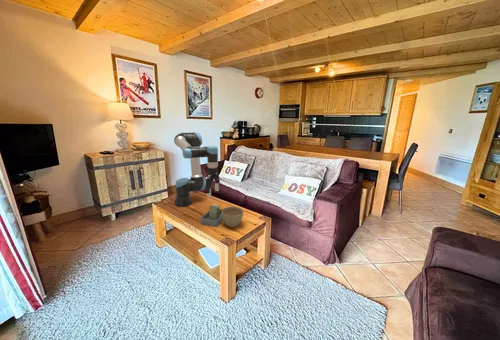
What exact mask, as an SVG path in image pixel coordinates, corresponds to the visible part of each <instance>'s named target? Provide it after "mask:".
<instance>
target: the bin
mask: <svg viewBox="0 0 500 340" xmlns="http://www.w3.org/2000/svg"><path fill="white" fill-rule="evenodd" d="M223 209H224V208H223ZM223 209H222V208H220V217H219V218H218V220H217V221H216V220H210V219H209V210H208V211H207V212H206V213H204V214H203V215H202V216H201V218H200V225H205V226H211V227H217V228H218V226H219V225H221V223H222V222H224V220H223V217H222V210H223Z"/></svg>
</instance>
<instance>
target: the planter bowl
mask: <svg viewBox="0 0 500 340" xmlns="http://www.w3.org/2000/svg"><path fill="white" fill-rule="evenodd" d="M222 217H223V222H224V223H225V225H226V226H227V227H229V228H234V227H235V228H236V227H238V226H239V224H240V223H241V221H242V219H243V217H244V210H243V209H242V208H241V207H238V206H227V207H224V208H223V210H222Z"/></svg>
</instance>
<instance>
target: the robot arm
mask: <svg viewBox="0 0 500 340" xmlns="http://www.w3.org/2000/svg"><path fill="white" fill-rule="evenodd" d="M173 141H174V144H175V146H177V147H179V148H180V150H182V156H183V158H184V159H189V160H190V169H191V175H190V178H188V177H181V178H179V179H176V181H175V186H174V187H175V199H174V206H175V207H177V208H178V207H180V208H183V207H189V206H191V205H192V204H193V200H192V197H191V195H190V193H193V192H199V191H204V190H206V197H207V198H212V189H211V187H212V183H213V181H214V191H215V192H219V190H220V189H219V187H220V185H219V184H220V182H221V180H220V175H219V168H218V166H219V162H218V160H219V151H218V150H219V149H218V146H216V145H210V146H203V147H201V146H202V145H203V138H202V135H201V134H200V133H199V132H195V131H193V132H180V133H178V134H177V135H175V136H174V139H173ZM201 158H206V159H207V173H208V175H207V176H206V178H205V177H204V175H203V174H202V170H201V169H202V167H201Z"/></svg>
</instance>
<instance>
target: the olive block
mask: <svg viewBox="0 0 500 340" xmlns="http://www.w3.org/2000/svg"><path fill="white" fill-rule="evenodd" d="M208 209H209V210H208V211H209V219H210V220H216V221H217V220H218V218H219V217H220V209H221V208H220V205H218V204H217V205H216V204H212V205H210V206H209V207H208Z"/></svg>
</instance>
